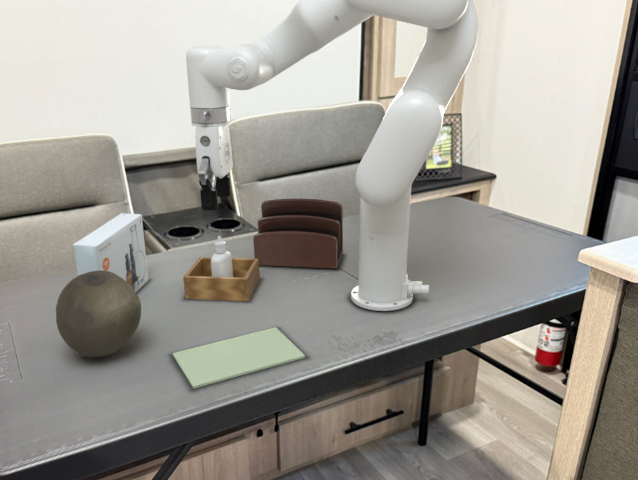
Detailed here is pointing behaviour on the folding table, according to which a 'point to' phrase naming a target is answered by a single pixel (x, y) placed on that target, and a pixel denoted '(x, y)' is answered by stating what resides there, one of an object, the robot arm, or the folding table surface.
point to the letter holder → (300, 233)
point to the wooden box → (222, 280)
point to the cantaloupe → (97, 313)
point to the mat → (236, 357)
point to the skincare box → (115, 250)
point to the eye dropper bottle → (221, 260)
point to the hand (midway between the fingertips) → (216, 202)
